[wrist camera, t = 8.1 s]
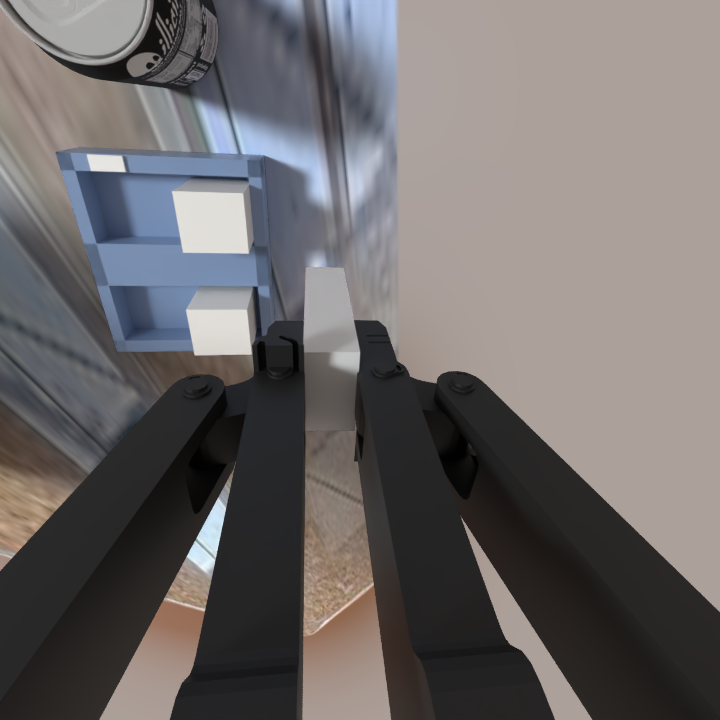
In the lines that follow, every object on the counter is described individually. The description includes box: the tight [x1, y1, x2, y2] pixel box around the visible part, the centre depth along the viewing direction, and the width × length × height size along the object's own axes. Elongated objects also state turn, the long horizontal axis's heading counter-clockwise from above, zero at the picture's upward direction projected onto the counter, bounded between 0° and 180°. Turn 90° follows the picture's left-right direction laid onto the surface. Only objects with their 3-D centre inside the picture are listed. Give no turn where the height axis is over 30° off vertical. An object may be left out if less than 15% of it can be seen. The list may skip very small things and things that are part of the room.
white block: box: [186, 286, 258, 355], centre depth 31 cm, size 4×4×5 cm
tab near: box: [172, 178, 254, 254], centre depth 27 cm, size 4×4×5 cm
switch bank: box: [56, 147, 275, 352], centre depth 30 cm, size 12×14×3 cm
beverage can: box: [0, 0, 218, 88], centre depth 19 cm, size 7×7×12 cm
